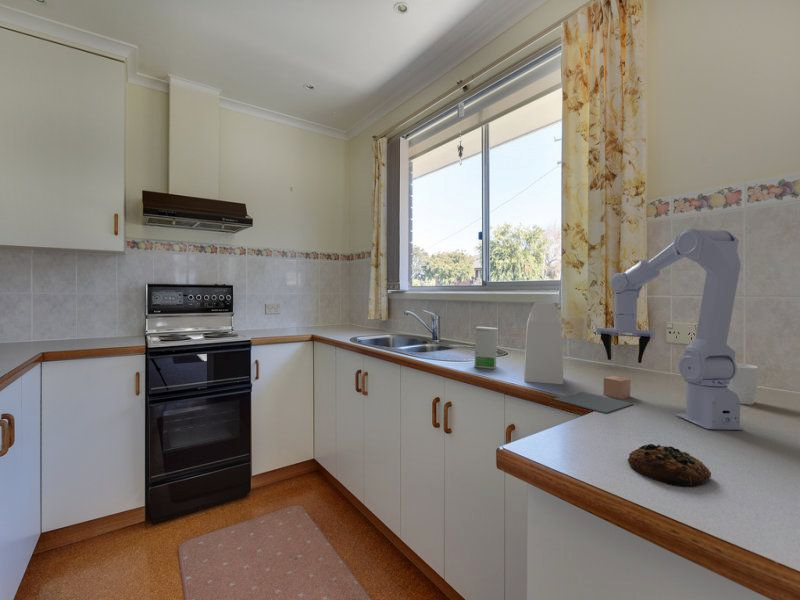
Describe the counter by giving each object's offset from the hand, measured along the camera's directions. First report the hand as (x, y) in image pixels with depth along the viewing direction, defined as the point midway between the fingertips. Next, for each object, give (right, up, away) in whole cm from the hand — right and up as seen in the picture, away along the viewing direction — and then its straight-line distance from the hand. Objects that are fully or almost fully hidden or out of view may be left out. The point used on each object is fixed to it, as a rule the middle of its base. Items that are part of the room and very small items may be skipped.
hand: (624, 360), depth 111 cm
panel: (-14, -10, -10) cm, 19 cm away
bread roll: (-22, -11, -49) cm, 55 cm away
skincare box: (-32, -9, +38) cm, 51 cm away
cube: (-3, -10, -2) cm, 10 cm away
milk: (-17, -9, +18) cm, 27 cm away
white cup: (+28, -10, -6) cm, 30 cm away
